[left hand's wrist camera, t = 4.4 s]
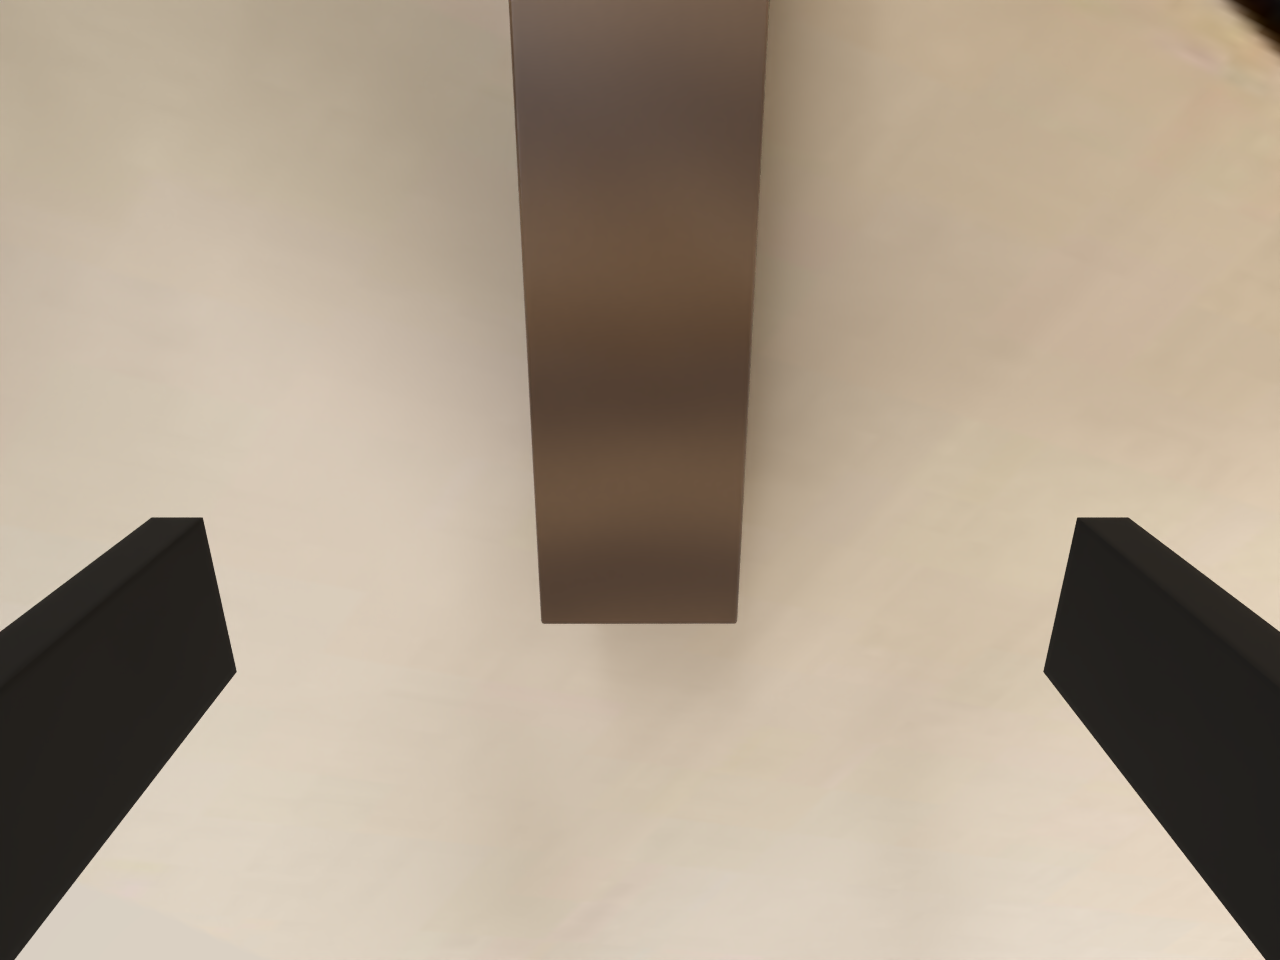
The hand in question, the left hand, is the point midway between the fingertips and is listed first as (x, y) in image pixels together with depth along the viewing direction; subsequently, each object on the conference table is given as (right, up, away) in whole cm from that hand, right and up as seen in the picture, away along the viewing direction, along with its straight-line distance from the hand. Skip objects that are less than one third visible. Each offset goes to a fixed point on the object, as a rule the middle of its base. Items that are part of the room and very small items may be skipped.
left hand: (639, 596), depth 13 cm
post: (0, +37, 0) cm, 37 cm away
